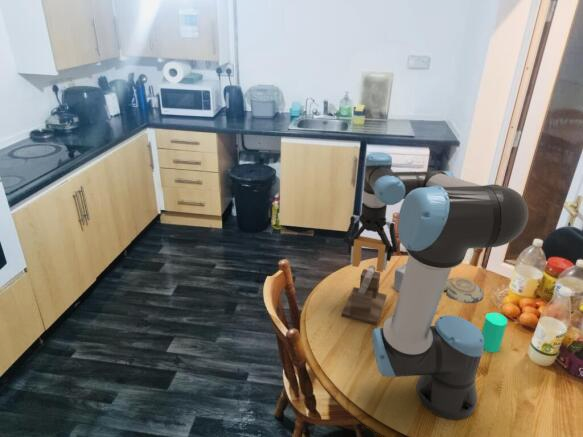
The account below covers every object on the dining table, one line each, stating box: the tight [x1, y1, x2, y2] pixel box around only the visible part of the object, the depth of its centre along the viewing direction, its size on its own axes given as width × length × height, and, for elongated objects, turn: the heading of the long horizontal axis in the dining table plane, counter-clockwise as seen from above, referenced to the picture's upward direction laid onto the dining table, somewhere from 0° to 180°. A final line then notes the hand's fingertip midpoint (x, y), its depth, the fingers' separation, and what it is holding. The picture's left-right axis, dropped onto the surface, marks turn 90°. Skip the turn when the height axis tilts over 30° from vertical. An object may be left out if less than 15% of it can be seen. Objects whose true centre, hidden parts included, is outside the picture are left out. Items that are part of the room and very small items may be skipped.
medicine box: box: [392, 263, 407, 292], centre depth 156 cm, size 8×4×9 cm, turn 129°
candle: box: [481, 312, 509, 353], centre depth 128 cm, size 6×6×12 cm
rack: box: [340, 265, 387, 326], centre depth 145 cm, size 16×12×12 cm
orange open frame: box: [351, 235, 386, 273], centre depth 139 cm, size 3×10×10 cm, turn 68°
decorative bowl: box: [443, 277, 485, 304], centre depth 156 cm, size 15×4×15 cm
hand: (368, 264), depth 140 cm, fingers closed on orange open frame, 10 cm apart
